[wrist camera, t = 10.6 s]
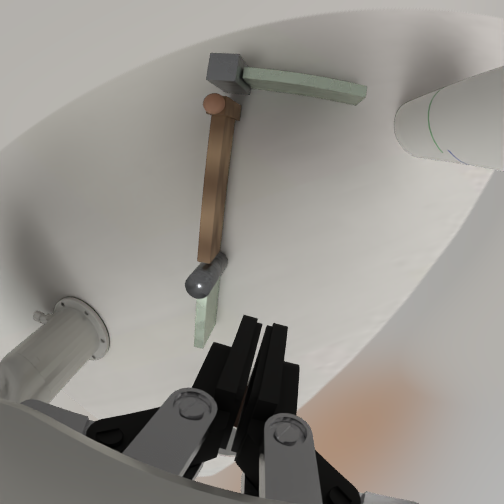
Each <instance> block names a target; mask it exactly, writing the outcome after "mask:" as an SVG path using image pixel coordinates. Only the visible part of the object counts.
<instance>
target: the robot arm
mask: <svg viewBox="0 0 504 504" xmlns="http://www.w3.org/2000/svg"><path fill="white" fill-rule="evenodd" d="M33 318H34V320H36V321H38V322H40V323H44V325H42V326H41V327H40V328H39V329H37V330H36V331H35V332H34V333H32V334H31V335H30V336H29V337H27V338H26V339H25V340H24V341H23V342H21V343H20V344H19V345H18V346H16V347H15V348H14V349H13V350H12V351H11V352H9V353H8V354H7V355H6V356H5V357H4V358H3V359H2V360H1V362H0V504H418V503H416V502H413V501H409V500H403V499H398V498H392V497H388V496H384V495H379V494H375V493H371V492H367V491H366V492H365V493H364V494H363V493H359V492H358V490H357V489H356V488H355V487H354V486H353V485H352V484H351V483H350V482H349V481H348V480H347V479H345V478H344V477H343V476H342V475H341V474H340V473H339V472H338V471H337V470H335V468H334V467H332V466H331V465H330V464H329V463H328V462H327V461H326V460H325V459H324V458H323V457H322V456H321V455H320V454H319V453H318V452H317V451H316V450H315V447H314V441H313V435H312V431H311V428H310V426H309V425H308V424H307V422H306V421H304V420H303V419H302V418H300V417H298V416H296V412H297V399H298V384H299V365H297V364H293V363H289V362H285V361H284V355H285V347H286V339H287V331H288V327H287V326H283V325H279V324H276V323H273V326H268V325H267V327H266V330H265V333H264V336H263V340H262V343H261V346H260V349H259V352H258V356H257V359H256V362H255V365H254V368H253V371H252V375H251V378H250V381H249V385H248V389H247V392H246V396H245V400H244V404H243V407H242V411H241V415H240V419H239V422H238V426H237V430H236V433H235V437H234V441H233V444H232V448H231V451H232V452H236V456H235V460H234V461H236V463H237V465H238V466H239V467H240V468H241V470H242V471H243V473H242V478H241V493H237V492H233V491H229V490H224V489H221V488H217V487H213V486H210V485H206V484H203V483H200V482H196V481H194V480H195V478H196V477H197V475H198V473H199V472H200V470H201V468H202V467H203V464H204V462H205V461H208V460H211V459H213V458H216V457H217V454H218V451H219V448H221V449H225V450H226V448H227V445H228V442H229V439H230V436H231V433H232V430H233V427H234V424H235V421H236V418H237V415H238V412H239V409H240V406H241V403H242V399H243V396H244V393H245V389H246V385H247V382H248V378H249V374H250V370H251V367H252V363H253V359H254V355H255V351H256V347H257V343H258V340H259V336H260V332H261V328H262V324H261V323H257V320H258V319H257V318H254V317H250V316H246V315H243V318H242V321H241V323H240V326H239V329H238V332H237V334H236V337H235V340H234V342H233V345H232V347H229V346H226V345H223V344H219V343H216V342H214V343H213V344H212V346H211V348H210V350H209V352H208V355H207V357H206V359H205V361H204V363H203V365H202V367H201V369H200V371H199V374H198V376H197V378H196V380H195V382H194V384H193V386H192V388H182V389H179V390H177V391H175V392H173V393H172V394H171V395H170V396H169V397H168V399H167V400H166V401H165V402H164V404H163V405H162V406H161V407H158V408H154V409H149V410H145V411H140V412H136V413H131V414H126V415H121V416H116V417H111V418H105V419H101V420H98V421H91V420H89V418H88V416H84V415H81V414H77V413H74V412H71V411H68V410H65V409H62V408H59V407H56V406H53V405H50V404H49V403H50V402H51V401H52V399H53V398H54V397H55V396H56V395H57V394H58V393H59V392H60V390H61V389H62V388H63V387H64V386H65V385H66V384H67V383H68V382H69V380H70V379H71V378H72V377H73V376H74V375H75V374H76V373H77V372H78V371H79V369H80V368H81V367H82V366H83V365H84V364H85V363H86V362H87V361H88V360H99V359H101V358H102V357H103V356H104V355H105V354H106V353H107V351H108V349H109V337H108V333H107V330H106V328H105V325H104V324H103V322H102V320H101V319H100V317H99V316H98V315H97V313H96V312H95V311H94V310H93V309H92V308H91V307H89V306H88V305H87V304H86V303H84V302H83V301H81V300H78V299H76V298H72V297H66V298H63V299H62V300H60V301H59V302H58V303H57V304H56V305H55V307H54V311H53V314H51V315H50V314H47V315H45V314H44V313H42V312H40V311H35V312H34V315H33Z"/></svg>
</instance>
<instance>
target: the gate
mask: <svg viewBox="0 0 504 504" xmlns="http://www.w3.org/2000/svg"><path fill="white" fill-rule="evenodd" d="M203 106H204V109H205V110H206V113H207V114H210V115H212V117H211V125H210V133H209V141H208V150H207V159H206V168H205V177H204V187H203V197H202V208H201V220H200V232H199V245H198V258H197V261H198V262H203V263H209V264H210V263H211V261H212V260H213V259H214V258H215V256H216V255H217V254H218V253H219V251H220V246H221V237H222V227H223V218H224V208H225V199H226V190H227V182H228V173H229V165H230V157H231V148H232V140H233V133H234V125H235V120H237V121H240V113H241V105H239V104H238V103H236V102H235V101H233V100H232V99H230V98H229V97H227V96H221V95H220V94H217V93H212V94H209V95H208V96H207V97H206V98H205V99H204V102H203Z"/></svg>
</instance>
